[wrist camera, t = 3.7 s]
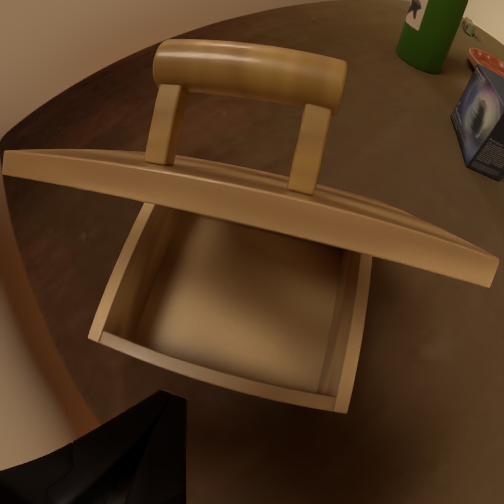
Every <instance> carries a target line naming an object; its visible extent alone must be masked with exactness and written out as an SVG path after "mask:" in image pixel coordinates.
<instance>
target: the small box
mask: <svg viewBox="0 0 504 504" xmlns="http://www.w3.org/2000/svg"><path fill="white" fill-rule="evenodd" d="M451 119H452V122H453V125H454V127H455V131H456V134H457V137H458V140H459V143H460V146H461V150H462V153H463V157H464V161H465V164H466V167H468V168H471V169H473V170H475V171H478V172H480V173H482V174H484V175H487V176H489V177H491V178H493V179H495V180H497V181H499V180H500V179H501V177H502V176H503V175H504V77H502V76H500V75H499V74H497V73H495V72H493V71H492V70H490V69H488V68H486V67H484V66H482V65H480V64H478V63H477V66H476V68H475V70H474V72H473V74H472V76H471V78H470V80H469V82H468V84H467V86H466V88H465V90H464V92H463V94H462V96H461V98H460V100H459V102H458V104H457V105H456V107H455V109H454V111H453V113H452V114H451Z"/></svg>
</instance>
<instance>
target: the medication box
mask: <svg viewBox="0 0 504 504" xmlns="http://www.w3.org/2000/svg"><path fill="white" fill-rule="evenodd" d="M462 25H463V28H464V30H465V32H466V33H467V34H469V35H470V36H472V34H473V32H474V31H475V29H476V27H475V26H474V24H473V22H472V21H471V20H470V19H468V18H467V17H465V19H464V21H463V22H462Z"/></svg>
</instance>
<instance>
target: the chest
mask: <svg viewBox="0 0 504 504" xmlns="http://www.w3.org/2000/svg"><path fill="white" fill-rule="evenodd" d="M371 266H372V256H369V255H366V254H362V253H358V252H354V251H350V250H346V249H342V248H338V247H334V246H331V245H327V244H323V243H319V242H315V241H311V240H307V239H302V238H298V237H294V236H290V235H286V234H282V233H278V232H274V231H270V230H265V229H261V228H257V227H253V226H248V225H244V224H240V223H236V222H231V221H227V220H223V219H218V218H214V217H210V216H205V215H201V214H196V213H192V212H187V211H183V210H178V209H174V208H169V207H165V206H160V205H155V204H151V203H146V202H145V203H144V205H143V207H142V209H141V211H140V213H139V215H138V217H137V219H136V221H135V223H134V225H133V227H132V230H131V232H130V234H129V236H128V238H127V240H126V243H125V245H124V247H123V249H122V251H121V254H120V256H119V258H118V261H117V263H116V265H115V267H114V270H113V272H112V275H111V277H110V279H109V282H108V284H107V287H106V289H105V292H104V294H103V297H102V299H101V302H100V305H99V307H98V310H97V313H96V315H95V318H94V321H93V324H92V326H91V329H90V332H89V335H88V339H91V340H93V341H95V342H97V343H100V344H102V345H104V346H107V347H109V348H111V349H114V350H116V351H118V352H121V353H123V354H126V355H128V356H131V357H133V358H136V359H138V360H141V361H144V362H146V363H149V364H152V365H154V366H157V367H160V368H163V369H166V370H169V371H171V372H174V373H177V374H180V375H183V376H186V377H189V378H193V379H196V380H199V381H202V382H206V383H209V384H212V385H216V386H219V387H223V388H226V389H230V390H234V391H237V392H241V393H245V394H249V395H253V396H257V397H261V398H265V399H270V400H274V401H279V402H283V403H288V404H293V405H298V406H303V407H309V408H314V409H320V410H326V411H332V412H339V413H345V414H346V413H347V412H348V407H349V403H350V399H351V394H352V390H353V385H354V380H355V375H356V370H357V365H358V359H359V354H360V348H361V342H362V336H363V330H364V323H365V317H366V309H367V302H368V294H369V285H370V276H371Z"/></svg>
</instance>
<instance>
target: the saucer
mask: <svg viewBox="0 0 504 504" xmlns="http://www.w3.org/2000/svg"><path fill="white" fill-rule="evenodd" d="M467 56H468V59H469V61H470V62H471V63H472V66H473V68H474V69H475V68H476V66H477V63H478V64H480V65H482V66H484V67H486V68H488V69H490V70H492V71H493V72H495V73H497V74H499V75H500V76H502V77H504V63H503V62H501V61H500V60H498V59H497V58H495V57H494V56H492V55H490V54H488V53H487V52H485V51H482V50H480V49H477V48H470V49H469V51H468V54H467Z"/></svg>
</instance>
